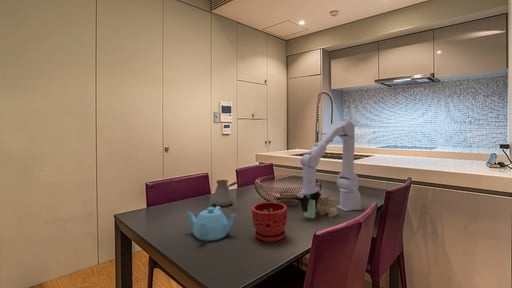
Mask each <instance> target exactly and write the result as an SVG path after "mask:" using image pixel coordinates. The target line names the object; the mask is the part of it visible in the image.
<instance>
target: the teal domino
mask: <svg viewBox="0 0 512 288" xmlns="http://www.w3.org/2000/svg"><path fill="white" fill-rule="evenodd" d="M303 217H306V218H309V219H316V213H315V200H311V199H310V200H309V203H308V211H307V212H303Z"/></svg>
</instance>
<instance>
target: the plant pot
mask: <svg viewBox="0 0 512 288" xmlns="http://www.w3.org/2000/svg"><path fill="white" fill-rule="evenodd" d="M270 209H272V211H271V210H270ZM265 210H266V211H265ZM251 214H252V222H253V226H254V228H255V232H254V235H255V236H256V238H257V239H258V240H260V241H263V242H271V243H272V242H279V241H280V240H282V239H283V238H285V236H286V230H285V228H286V226H287V220H288V207H287V206H286V204H284V203H282V202H277V201H276V202H275V201H263V202H259V203H256V204H254V205H253V206H252V207H251Z"/></svg>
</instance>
